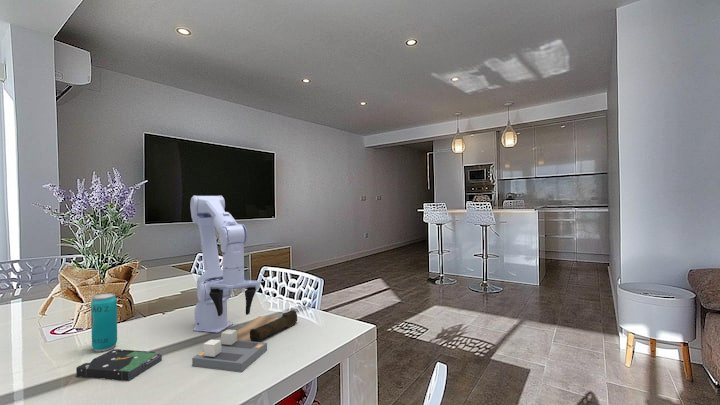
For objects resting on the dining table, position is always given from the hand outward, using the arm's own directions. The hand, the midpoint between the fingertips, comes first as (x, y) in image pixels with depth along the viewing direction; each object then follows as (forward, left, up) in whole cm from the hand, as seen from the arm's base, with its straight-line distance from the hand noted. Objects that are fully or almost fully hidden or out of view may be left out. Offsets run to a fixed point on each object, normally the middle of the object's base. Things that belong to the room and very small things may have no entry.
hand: (234, 314), depth 96 cm
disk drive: (-20, -18, -10) cm, 28 cm away
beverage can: (-35, -10, -9) cm, 37 cm away
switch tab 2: (+1, -4, -7) cm, 8 cm away
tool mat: (-1, +11, -9) cm, 14 cm away
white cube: (+1, -11, -6) cm, 13 cm away
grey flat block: (+4, -7, -9) cm, 12 cm away
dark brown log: (+7, +11, -9) cm, 16 cm away
